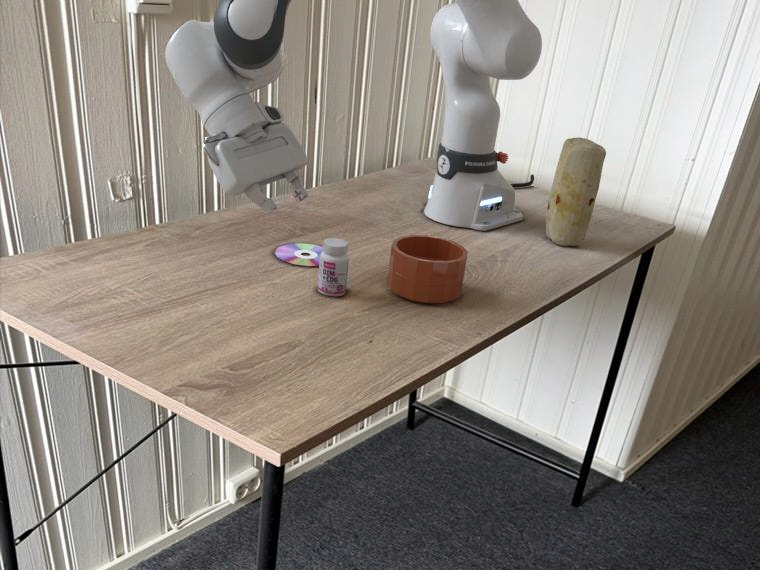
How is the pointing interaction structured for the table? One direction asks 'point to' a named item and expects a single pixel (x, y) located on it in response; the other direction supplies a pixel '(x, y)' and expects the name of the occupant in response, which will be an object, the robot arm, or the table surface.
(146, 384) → the table surface
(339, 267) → the pill bottle
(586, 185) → the food model
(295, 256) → the cd
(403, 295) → the pot
